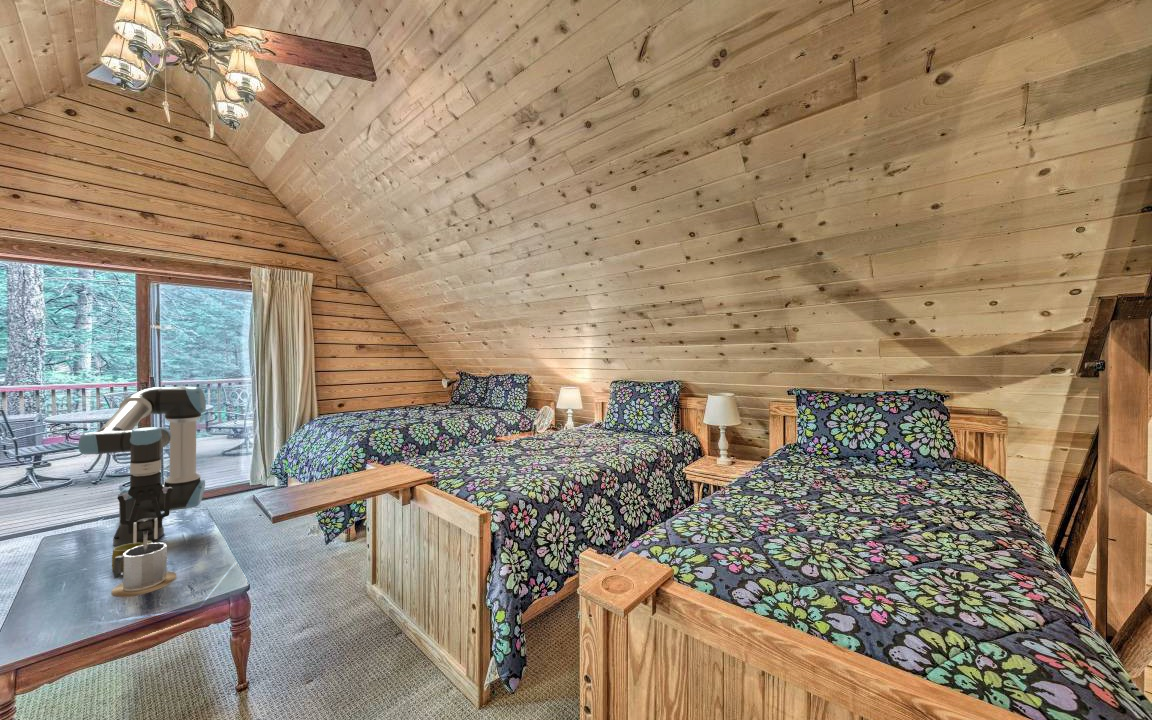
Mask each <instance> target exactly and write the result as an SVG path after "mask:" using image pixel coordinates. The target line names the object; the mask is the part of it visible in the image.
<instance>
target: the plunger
mask: <svg viewBox="0 0 1152 720" xmlns="http://www.w3.org/2000/svg"><path fill="white" fill-rule="evenodd" d="M154 521H155V518H144V519H140V520H138V521H137V522H136V523H137V531H144V532H143V555H145V554H147V546H148V530H150V529H153V528H154Z"/></svg>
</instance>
